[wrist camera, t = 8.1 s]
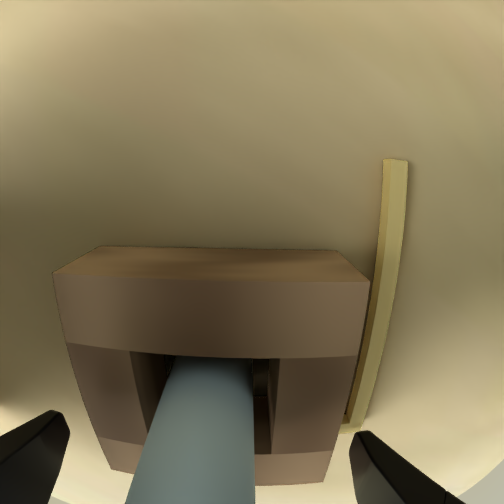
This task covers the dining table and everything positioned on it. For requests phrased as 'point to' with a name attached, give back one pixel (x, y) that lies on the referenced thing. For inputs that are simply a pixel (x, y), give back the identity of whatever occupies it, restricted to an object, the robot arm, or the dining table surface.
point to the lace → (380, 291)
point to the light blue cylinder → (200, 436)
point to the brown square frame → (216, 342)
